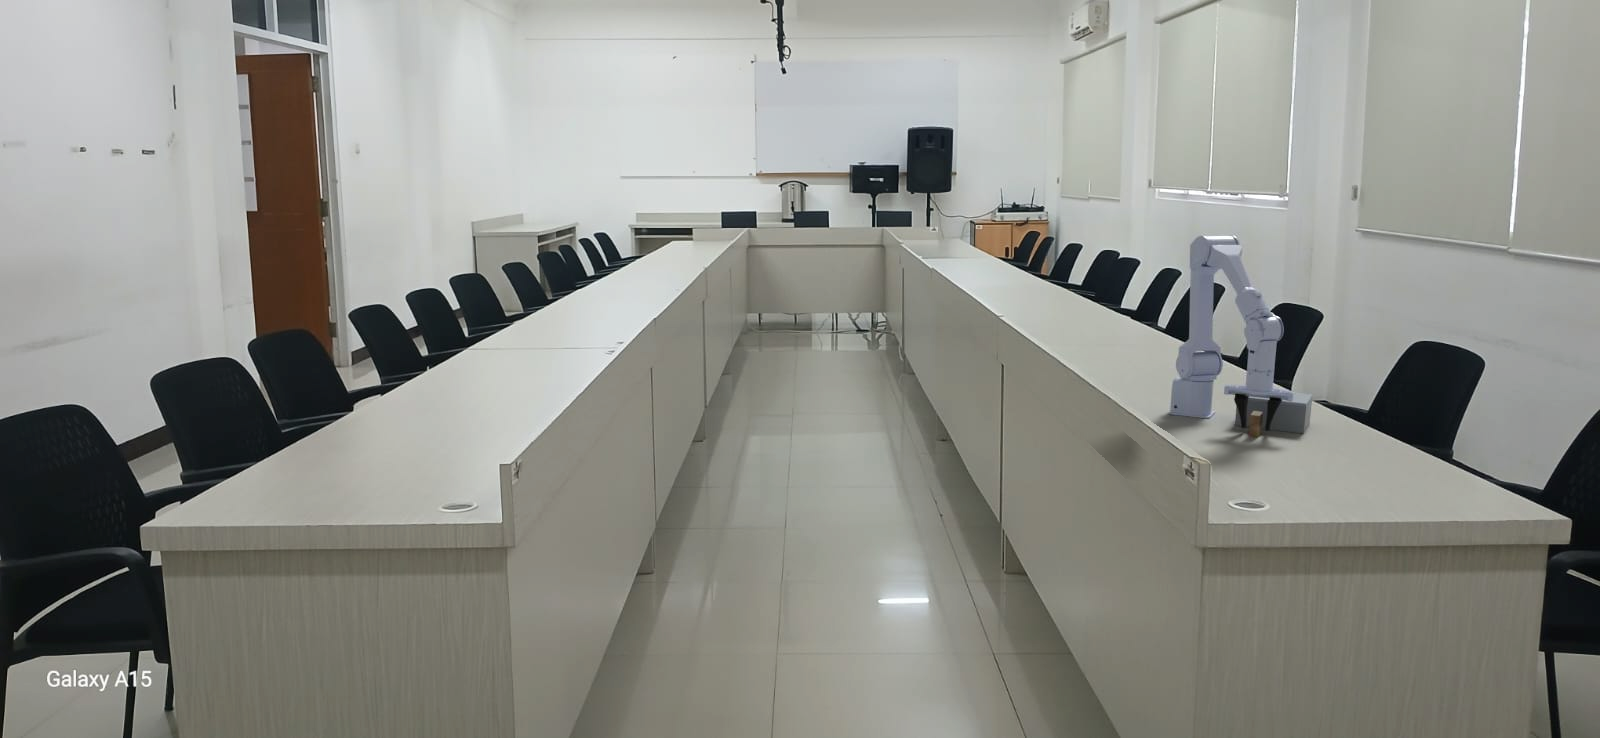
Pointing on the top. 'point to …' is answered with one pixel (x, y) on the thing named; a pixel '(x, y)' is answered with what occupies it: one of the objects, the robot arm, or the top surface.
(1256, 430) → the brown wooden block
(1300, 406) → the ballot box
